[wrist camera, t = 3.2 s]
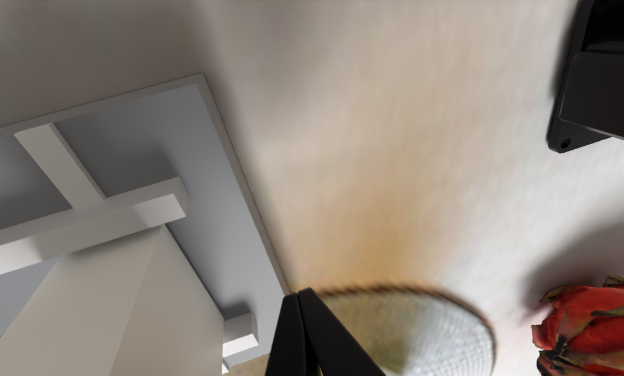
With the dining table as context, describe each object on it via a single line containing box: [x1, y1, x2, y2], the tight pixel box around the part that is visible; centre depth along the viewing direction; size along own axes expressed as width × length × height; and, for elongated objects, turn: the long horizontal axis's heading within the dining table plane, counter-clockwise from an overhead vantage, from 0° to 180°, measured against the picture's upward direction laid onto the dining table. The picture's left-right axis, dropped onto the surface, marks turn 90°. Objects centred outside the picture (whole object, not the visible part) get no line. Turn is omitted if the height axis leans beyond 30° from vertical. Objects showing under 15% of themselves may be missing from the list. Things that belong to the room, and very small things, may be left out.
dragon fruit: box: [531, 275, 624, 376], centre depth 19 cm, size 8×8×12 cm
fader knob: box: [0, 224, 224, 376], centre depth 8 cm, size 3×5×5 cm, turn 13°
